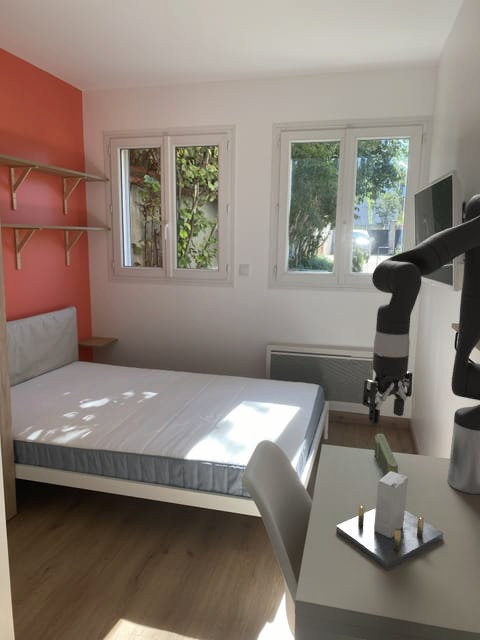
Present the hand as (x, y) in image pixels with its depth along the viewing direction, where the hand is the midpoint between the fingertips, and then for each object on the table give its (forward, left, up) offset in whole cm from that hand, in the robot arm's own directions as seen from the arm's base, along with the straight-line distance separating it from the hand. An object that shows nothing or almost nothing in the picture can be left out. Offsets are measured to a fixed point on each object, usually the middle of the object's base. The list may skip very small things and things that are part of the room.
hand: (386, 419), depth 104 cm
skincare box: (+6, +7, -22) cm, 24 cm away
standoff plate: (+6, +7, -23) cm, 25 cm away
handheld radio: (-16, -11, -24) cm, 31 cm away
